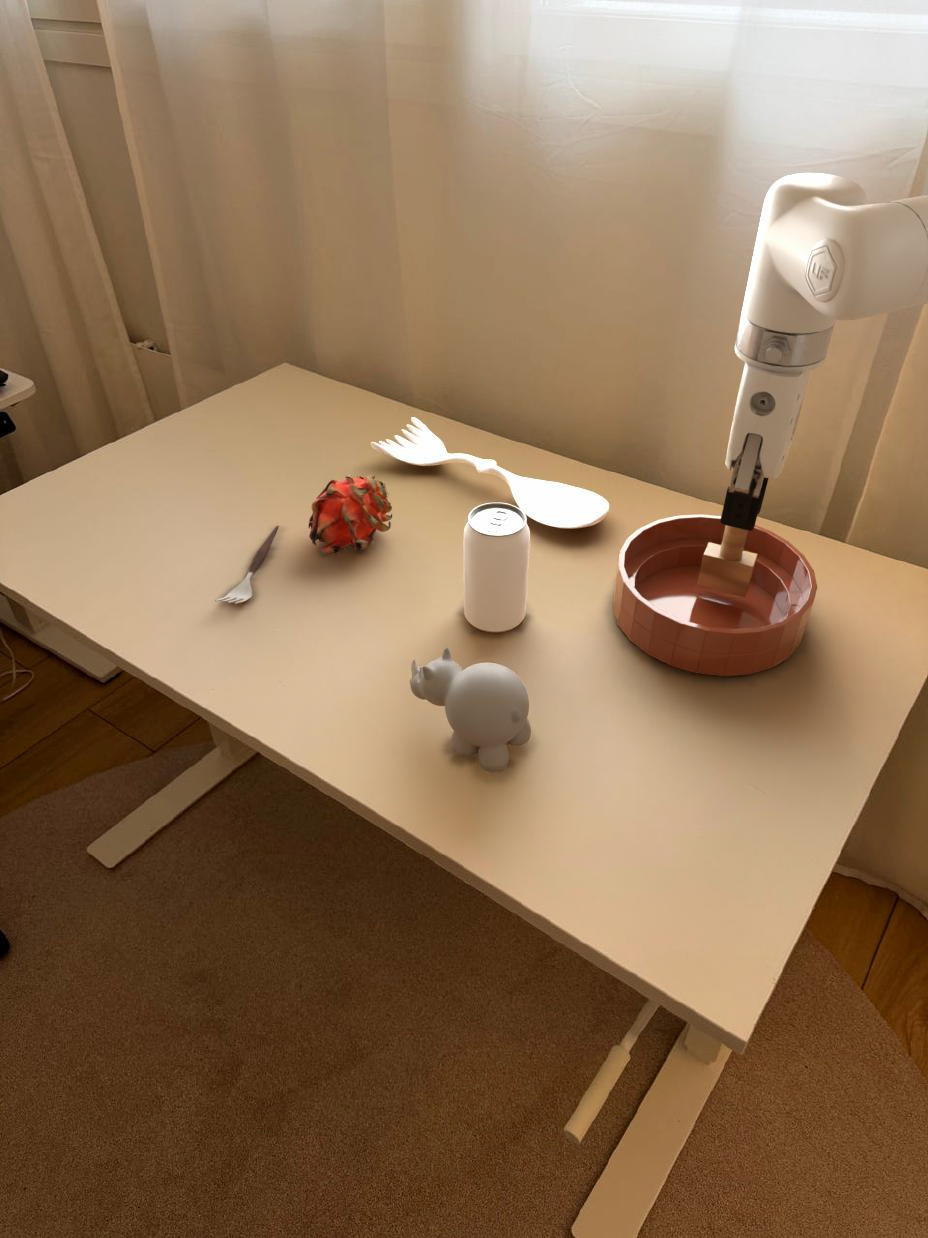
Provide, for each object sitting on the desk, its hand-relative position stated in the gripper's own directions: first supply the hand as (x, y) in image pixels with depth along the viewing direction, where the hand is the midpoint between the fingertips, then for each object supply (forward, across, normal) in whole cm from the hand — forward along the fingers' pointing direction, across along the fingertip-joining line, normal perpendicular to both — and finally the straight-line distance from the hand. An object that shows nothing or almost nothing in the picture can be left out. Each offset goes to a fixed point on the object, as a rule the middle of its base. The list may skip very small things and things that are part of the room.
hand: (740, 516), depth 87 cm
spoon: (+11, +10, +31) cm, 34 cm away
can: (+11, -12, +21) cm, 26 cm away
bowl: (+11, -3, +1) cm, 11 cm away
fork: (+11, -16, +48) cm, 52 cm away
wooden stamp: (+9, 0, 0) cm, 9 cm away
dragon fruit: (+11, -7, +41) cm, 43 cm away
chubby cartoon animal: (+11, -28, +17) cm, 34 cm away
